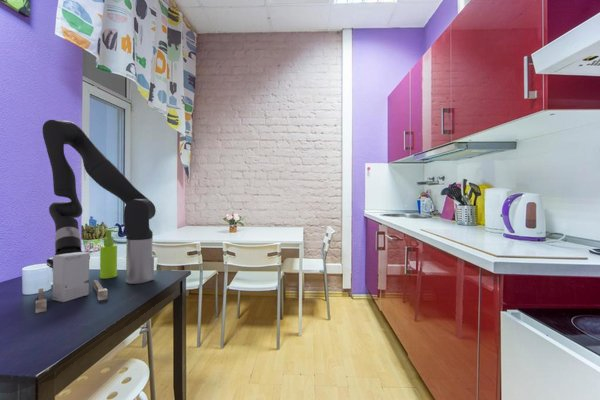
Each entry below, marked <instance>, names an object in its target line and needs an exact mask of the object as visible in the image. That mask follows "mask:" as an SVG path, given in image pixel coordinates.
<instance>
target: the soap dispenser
mask: <svg viewBox="0 0 600 400" xmlns="http://www.w3.org/2000/svg"><path fill="white" fill-rule="evenodd" d="M103 232H105V233H106V236H105V237H103V245H100V246H99V248H100V250H99V260H100V261H99V267H100V269H99V278H100V279H102V280H103V279H106V280H107V279H111V278H116V277H117V276H118V245H117V244H114V241H115V240H114V239H115V238H114V236H112V232H114V233H118V232H120V230H119V229H115V228H114V229H111V228H110V229H104V230H103Z"/></svg>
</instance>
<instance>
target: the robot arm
mask: <svg viewBox="0 0 600 400" xmlns="http://www.w3.org/2000/svg"><path fill="white" fill-rule="evenodd" d="M42 137H43V141H44V144H45V148H46V152H47V156H48V159H49V163H50V167H51V171H52V172H51V173H52V183H53V185H52V186H53V194H54V195H55V196H57V197H61V198H62V197H63V198H67V199H69V200H70V201H55V202H52V203H51V204H50V205H49V207H48V213H49V215H50V216H51V218H52V220H53V222H54V225H55V227H54V228H55V236H54V247H55V248H54V249H55V253H54V255H60V254H67V253H76V252H83V250H82V241H81V235H80V229H79V222H78V220H77V219H76V218H80V217H81V216H82V215H83V207H82V204H81V203H80V199H79V197H78V193H77V184H76V180H77V179H76V174H75V172H74V170H73V168H72V166H71V165H70V163H69V162H68V160H67V158H66V157H67V156H66V154H65V150H64V149H65V145H68V146H70V147H72V148H73V149H74V150H75V151H76V152H77V153H78V154H79V156H80V157H81V159H82V163H83V167H84V170H85V172H86V173H87V175H88V176H89V177H90V178H91V179H92V180H93V181H94V182H95V183H96V184H97V185H99V186H100V187H101V188H103V189H104V190H105V191H107V192H109V193H111V194H112V195H114V196H116V197H117V198H118V199H120V200H121V202H123V203H124V204H125V206H124V210H123V225H124V227H123V228H124V233H125V235H126V236H125V237H126V259H125V260H126V265H125V266H126V268H125V269H126V271H125V272H126V273H125V274H126V275H125V281H126V283H127V284H131V285H132V284H135V285H137V284H143V283H147V282H150V281H154V280H155V257H154V255H153V246H154V245H153V243H154V242H153V236H154V235H153V231H152V229H150V228H151V227H150V220H151V219H153V218H154V217H155V216H156V207H155V204H154V203H153V202H152V201H151V200H150V199H149V198H148V197H147V196H145V195H144V194H143V193H142V192H140V190H138V188H136V187H135V186H134V185H133V184H132V183H131V181H129V180H128V178H127V177H126V176H125V175H124V174H123V173H121V171H120V169H118V168H117V166H115V164H114V163H113V162H112V161H111V160H110V159H108V157H106V156H105V154H103V153H102V152H101V150H99V148H98V147H96V145H95V144H94V143H93V141H92V140H91V139H90V138H89V137H88V135H87V134H86V133H85V132H84V130H82V128H81V127H80V126H79V125H78V124H76V123H75V122H72V121H70V120H61V119H48V120H46V121H45V122H44V123H43V125H42ZM90 259H91V255H90V254H89V261H90ZM46 266H48V267H49V268H50V269H52V270H53V257H52V258H47V259H46Z"/></svg>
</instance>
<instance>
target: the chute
mask: <svg viewBox="0 0 600 400" xmlns="http://www.w3.org/2000/svg"><path fill="white" fill-rule="evenodd" d="M93 289H94V291H95V292H96V294H97V301H105V300H108V297H109V296H108V291H109V290H108V289H107V288H104V287H103V286H102V285H101V283H100V281H99V280H98V279H95V280H93ZM47 306H48V304H47V298H45V297H44V288H38V299H36V300H35V314H38V313H43V312H47V311H48V309H47Z"/></svg>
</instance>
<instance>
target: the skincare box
mask: <svg viewBox="0 0 600 400" xmlns="http://www.w3.org/2000/svg"><path fill="white" fill-rule="evenodd" d="M89 255H90V252H83V251H82V252H76V253H67V254H60V255H55V254H54V255H52V258H53V269H52V297H51V299H52V300H53V301H57V302H60V303H65V302H69V301H72V300H74V299H75V300H76V299H79V298H82V297H85V296H89V294H90V286H89V285H90V260H89Z"/></svg>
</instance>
